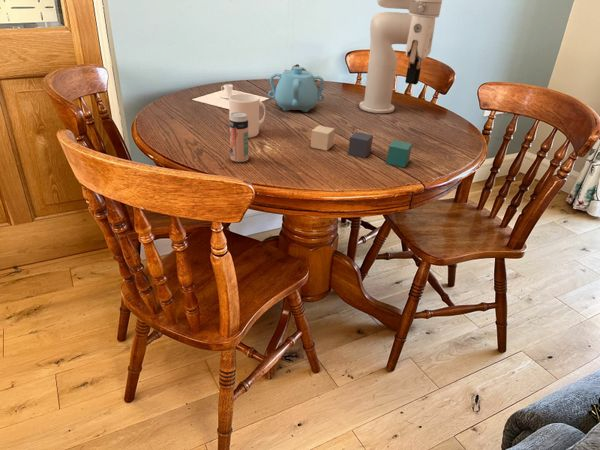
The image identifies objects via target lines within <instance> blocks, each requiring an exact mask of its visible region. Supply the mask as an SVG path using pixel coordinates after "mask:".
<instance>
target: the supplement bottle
mask: <svg viewBox="0 0 600 450" xmlns="http://www.w3.org/2000/svg"><path fill="white" fill-rule="evenodd" d="M228 120H229V121H228V122H229V150H230V151H229V153H230V155H229V158H230V160H231V161H233V162H234V163H244V162H246V161H248V160H249V159H250V157H249V138H248V117H247V115H246V114H245V113H242V112H235V113H232V114H231V116H230V117H228Z"/></svg>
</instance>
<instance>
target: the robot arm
mask: <svg viewBox="0 0 600 450" xmlns="http://www.w3.org/2000/svg"><path fill="white" fill-rule="evenodd" d="M376 1H377V4H378V6H379V7H381V8H384V9H385V8H386V9H396V10H397V9H399V10H407V11H408V12H398V11H397V12H396V11H394V12H393V11H382V12H378V13H376V14H375V15H373V16H372V17H371V20H370V26H369V27H370V28H369V33H370V35H369V36H370V37H369V39H370V44H369V56H368V65H367V66H368V67H367V73H366V81H365V91H364V98H363V101H360V102H359V104H358V107H359V109H360V110H362V111H364V112H368V113H373V114H390V113H393V112H394V111H395V105H394V104H392V98H393V92H394V86H395V78H396V71H397V66H398V65H397V64H398V55H397V53H396V51H395V49H394V48H393V46H392V45H406V48H405V56H406V58H408V65H407V69H406V75H405V84H409V85H417V84H418V83H419V81H420V75H421V70H422V69H421V68H422V63H423V60H425V59H426V58H427V57H428V56H429V55H430V54H431V52H432V46H433V38H434V32H435V25H436V19H437V18H439V17H440V14H441V8H442V2H443V0H376Z"/></svg>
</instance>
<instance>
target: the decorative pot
mask: <svg viewBox="0 0 600 450" xmlns="http://www.w3.org/2000/svg"><path fill="white" fill-rule="evenodd" d="M292 67H293V66H292ZM303 68H304V67H302V68H301V66H300V67H293V70H291V69H290V70H289V69H286V70H287V71H285V70H284V71H283V72H282V73H279V72H276V73H273V74H271V76H270V77H269V84H270V87H271V90H269V91H268V98H270V99H272V100H273V99H274V100H275V101H276V104H277V105H278V107H280V108H281V109H282V110H283V111H285V112H286V111H291V110H292V111H293V110H294V111H300V112H304V113H308V112H309V110H311V109H313V108H314V107H315V106H316V104H317V103H318V102H323V101H324V100H325V99H326V98H325V94H323V93H322V92H323V89H324V88H325V80H324V78H323V77H322V76H320V75H313V73H312V72H311V71H308V70H306V71H302V69H303ZM276 77H278V78H279V79H278V81H277V84H276V86H275V85H274V84H275V83H274V79H275V78H276ZM314 79H317V80H320V82H321V83H320V87H319V89H318V87H317V83H316V82H315V80H314ZM272 94H273V95H272Z"/></svg>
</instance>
